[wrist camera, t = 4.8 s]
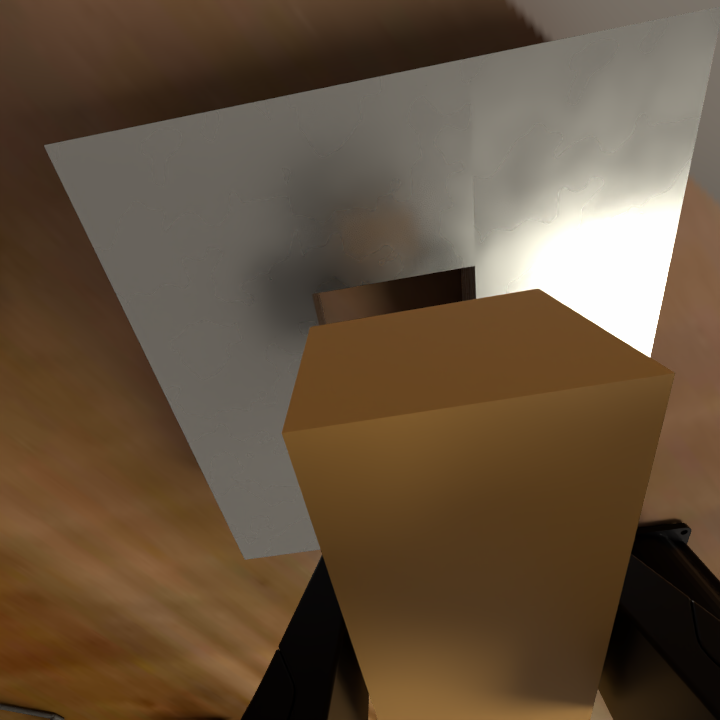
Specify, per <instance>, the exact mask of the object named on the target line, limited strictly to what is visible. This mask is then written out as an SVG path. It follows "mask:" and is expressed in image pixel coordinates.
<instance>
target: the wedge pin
mask: <svg viewBox="0 0 720 720" xmlns="http://www.w3.org/2000/svg"><path fill="white" fill-rule="evenodd" d="M674 376H675V373H674V372H673V371H671V370H669V369H668V368H666V367H665V366H663V365H661V364H660V363H658V362H657V361H655V360H653V359H652V358H650V357H649V356H647V355H645V354H644V353H642V352H640V351H639V350H637V349H636V348H634V347H632V346H631V345H629V344H628V343H626V342H624V341H623V340H621V339H620V338H618V337H616V336H615V335H613V334H611V333H610V332H608V331H607V330H605V329H603V328H602V327H600V326H599V325H597V324H595V323H594V322H592V321H591V320H589V319H587V318H586V317H584V316H582V315H581V314H579V313H578V312H576V311H574V310H573V309H571V308H570V307H568V306H566V305H565V304H563V303H562V302H560V301H558V300H557V299H555V298H553V297H552V296H550V295H549V294H547V293H545V292H544V291H542V290H541V289H539V288H538V289H532V290H526V291H520V292H514V293H508V294H502V295H496V296H490V297H484V298H478V299H473V300H467V301H461V302H455V303H449V304H443V305H437V306H431V307H425V308H419V309H414V310H408V311H402V312H396V313H390V314H384V315H378V316H372V317H366V318H360V319H354V320H349V321H343V322H337V323H331V324H325V325H319V326H313V327H310V329H309V333H308V337H307V340H306V344H305V348H304V352H303V355H302V359H301V363H300V367H299V370H298V374H297V378H296V381H295V385H294V389H293V393H292V396H291V400H290V404H289V408H288V411H287V415H286V419H285V423H284V426H283V430H282V436H283V439H284V442H285V445H286V448H287V451H288V454H289V457H290V460H291V463H292V466H293V469H294V472H295V475H296V478H297V481H298V484H299V487H300V489H301V492H302V495H303V498H304V501H305V504H306V507H307V510H308V513H309V516H310V519H311V522H312V525H313V528H314V531H315V534H316V537H317V540H318V543H319V546H320V549H321V552H322V555H323V558H324V561H325V564H326V567H327V570H328V573H329V576H330V579H331V582H332V585H333V588H334V591H335V594H336V597H337V600H338V603H339V606H340V609H341V612H342V615H343V618H344V621H345V624H346V627H347V630H348V633H349V636H350V639H351V642H352V645H353V648H354V651H355V654H356V657H357V660H358V663H359V666H360V669H361V672H362V675H363V678H364V681H365V684H366V687H367V690H368V693H369V696H370V699H371V702H372V704H373V707H374V710H375V713H376V716H377V719H378V720H590V718H591V714H592V710H593V706H594V702H595V698H596V694H597V689H598V685H599V681H600V677H601V673H602V669H603V665H604V661H605V657H606V653H607V649H608V645H609V641H610V637H611V632H612V628H613V624H614V620H615V616H616V612H617V608H618V604H619V600H620V596H621V592H622V588H623V584H624V580H625V575H626V571H627V567H628V563H629V559H630V555H631V551H632V547H633V543H634V539H635V535H636V531H637V527H638V523H639V518H640V514H641V510H642V506H643V502H644V498H645V494H646V490H647V486H648V482H649V478H650V474H651V470H652V465H653V461H654V457H655V453H656V449H657V445H658V441H659V437H660V433H661V429H662V425H663V421H664V417H665V413H666V408H667V404H668V400H669V396H670V392H671V388H672V384H673V380H674Z"/></svg>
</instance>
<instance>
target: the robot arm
mask: <svg viewBox="0 0 720 720" xmlns="http://www.w3.org/2000/svg"><path fill="white" fill-rule="evenodd" d="M690 534H691V529H690V528H689V527H688V525H687V524H685V523H678V524H670V525H662V526H655V527H647V528H639V529H637V531H636V535H635V539H634V543H633V547H632V551H631V555H630V559H629V563H628V567H627V571H626V575H625V580H624V584H623V588H622V592H621V596H620V600H619V604H618V608H617V612H616V616H615V620H614V624H613V628H612V632H611V637H610V641H609V645H608V649H607V653H606V657H605V661H604V665H603V669H602V673H601V677H600V681H599V685H598V689H599V691H600V693H601V695H602V697H603V699H604V702H605V704H606V706H607V708H608V710H609V712H610V714H611V716H612V718H613V720H720V581H719V580H718V579H717V578H716V576H715V575H714V574H713V573H712V572H711V571H710V570H709V569H708V568H707V566H706V565H705V564H704V563H703V562H702V561H701V560H700V559H699V558H698V556H697V555H696V554H695V553H694V552H693V551H692V550H691V549H690V548H689V546H688V545H687V542H688V539H689V536H690ZM368 704H369V693H368V690H367V687H366V684H365V681H364V678H363V675H362V672H361V669H360V666H359V663H358V660H357V657H356V654H355V651H354V648H353V645H352V642H351V639H350V636H349V633H348V630H347V627H346V624H345V621H344V618H343V615H342V612H341V609H340V606H339V603H338V600H337V597H336V594H335V591H334V588H333V585H332V582H331V579H330V576H329V573H328V570H327V567H326V564H325V561H324V558H323V555H322V556H321V558H320V560H319V562H318V564H317V567H316V569H315V571H314V573H313V575H312V577H311V579H310V581H309V583H308V585H307V588H306V590H305V592H304V594H303V596H302V598H301V600H300V602H299V604H298V606H297V608H296V611H295V613H294V615H293V617H292V619H291V621H290V623H289V625H288V627H287V629H286V631H285V634H284V636H283V638H282V640H281V642H280V644H279V649H278V650H276V652H275V654H274V656H273V658H272V660H271V663H270V665H269V667H268V669H267V671H266V673H265V675H264V677H263V679H262V681H261V683H260V685H259V687H258V689H257V691H256V693H255V695H254V696H253V698H252V700H251V702H250V704H249V705H248V707H247V709H246V711H245V713H244V714H243V716H242V718H241V720H368Z"/></svg>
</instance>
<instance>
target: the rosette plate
mask: <svg viewBox="0 0 720 720" xmlns="http://www.w3.org/2000/svg"><path fill="white" fill-rule="evenodd" d="M719 27H720V7H716V8H711V9H706V10H701V11H697V12H691V13H687V14H682V15H677V16H672V17H667V18H663V19H658V20H652V21H647V22H643V23H638V24H633V25H628V26H623V27H618V28H613V29H609V30H604V31H599V32H594V33H589V34H584V35H579V36H574V37H569V38H565V39H560V40H555V41H550V42H545V43H540V44H535V45H530V46H526V47H521V48H516V49H511V50H506V51H501V52H496V53H491V54H487V55H482V56H477V57H472V58H467V59H462V60H457V61H452V62H448V63H443V64H438V65H433V66H428V67H423V68H418V69H413V70H409V71H404V72H399V73H394V74H389V75H384V76H379V77H374V78H370V79H365V80H360V81H355V82H350V83H345V84H340V85H335V86H331V87H326V88H321V89H316V90H311V91H306V92H301V93H296V94H292V95H287V96H282V97H277V98H272V99H267V100H262V101H257V102H253V103H248V104H243V105H238V106H233V107H228V108H223V109H218V110H214V111H209V112H204V113H199V114H194V115H189V116H184V117H179V118H175V119H170V120H165V121H160V122H155V123H150V124H145V125H140V126H135V127H131V128H126V129H121V130H116V131H111V132H106V133H101V134H96V135H92V136H87V137H82V138H77V139H72V140H67V141H62V142H57V143H53V144H48V145H44V147H45V149H46V151H47V153H48V155H49V157H50V159H51V161H52V163H53V166H54V168H55V170H56V172H57V174H58V176H59V178H60V180H61V182H62V184H63V186H64V188H65V190H66V192H67V194H68V196H69V198H70V201H71V203H72V205H73V207H74V209H75V211H76V213H77V215H78V217H79V219H80V221H81V223H82V225H83V227H84V229H85V231H86V233H87V236H88V238H89V240H90V242H91V244H92V246H93V248H94V250H95V252H96V254H97V256H98V258H99V260H100V262H101V264H102V266H103V268H104V271H105V273H106V275H107V277H108V279H109V281H110V283H111V285H112V287H113V289H114V291H115V293H116V295H117V297H118V299H119V301H120V303H121V306H122V308H123V310H124V312H125V314H126V316H127V318H128V320H129V322H130V324H131V326H132V328H133V330H134V332H135V334H136V336H137V338H138V341H139V343H140V345H141V347H142V349H143V351H144V353H145V355H146V357H147V359H148V361H149V363H150V365H151V367H152V369H153V371H154V373H155V376H156V378H157V380H158V382H159V384H160V386H161V388H162V390H163V392H164V394H165V396H166V398H167V400H168V402H169V404H170V406H171V408H172V411H173V413H174V415H175V417H176V419H177V421H178V423H179V425H180V427H181V429H182V431H183V433H184V435H185V437H186V439H187V441H188V443H189V446H190V448H191V450H192V452H193V454H194V456H195V458H196V460H197V462H198V464H199V466H200V468H201V470H202V472H203V474H204V476H205V478H206V481H207V483H208V485H209V487H210V489H211V491H212V493H213V495H214V497H215V499H216V501H217V503H218V505H219V507H220V509H221V511H222V513H223V516H224V518H225V520H226V522H227V524H228V526H229V528H230V530H231V532H232V534H233V536H234V538H235V540H236V542H237V544H238V546H239V548H240V551H241V553H242V555H243V557H244V559H253V558H260V557H268V556H275V555H283V554H290V553H297V552H305V551H312V550H320V546H319V543H318V540H317V537H316V534H315V531H314V528H313V525H312V522H311V519H310V516H309V513H308V510H307V507H306V504H305V501H304V498H303V495H302V492H301V489H300V487H299V484H298V481H297V478H296V475H295V472H294V469H293V466H292V463H291V460H290V457H289V454H288V451H287V448H286V445H285V442H284V439H283V436H282V430H283V426H284V423H285V419H286V415H287V411H288V408H289V404H290V400H291V396H292V393H293V389H294V385H295V381H296V378H297V374H298V370H299V367H300V363H301V359H302V355H303V352H304V348H305V344H306V340H307V337H308V333H309V329H310V327H313V326H319V325H325V324H326V320H325V316H324V312H323V307H322V303H321V298H320V294H319V293H321V292H327V291H332V290H338V289H344V288H350V287H356V286H361V285H367V284H373V283H379V282H384V281H390V280H396V279H402V278H407V277H413V276H419V275H425V274H430V273H436V272H442V271H448V270H454V269H459V268H461V277H462V299H463V301H467V300H473V299H478V298H484V297H490V296H496V295H502V294H508V293H514V292H520V291H526V290H532V289H538V288H539V289H541V290H542V291H544V292H545V293H547V294H549V295H550V296H552V297H553V298H555V299H557V300H558V301H560V302H562V303H563V304H565V305H566V306H568V307H570V308H571V309H573V310H574V311H576V312H578V313H579V314H581V315H582V316H584V317H586V318H587V319H589V320H591V321H592V322H594V323H595V324H597V325H599V326H600V327H602V328H603V329H605V330H607V331H608V332H610V333H611V334H613V335H615V336H616V337H618V338H620V339H621V340H623V341H624V342H626V343H628V344H629V345H631V346H632V347H634V348H636V349H637V350H639V351H640V352H642V353H644V354H645V355H647V356H649V357H650V355H651V350H652V345H653V341H654V336H655V331H656V326H657V322H658V317H659V312H660V307H661V302H662V298H663V293H664V288H665V283H666V279H667V274H668V269H669V264H670V260H671V255H672V250H673V245H674V241H675V236H676V231H677V226H678V222H679V217H680V212H681V207H682V203H683V198H684V193H685V188H686V184H687V179H688V174H689V169H690V165H691V160H692V155H693V150H694V145H695V141H696V136H697V131H698V126H699V122H700V117H701V112H702V106H703V103H704V98H705V93H706V88H707V84H708V79H709V74H710V69H711V65H712V60H713V55H714V50H715V45H716V41H717V36H718V31H719Z"/></svg>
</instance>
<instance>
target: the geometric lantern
mask: <svg viewBox="0 0 720 720" xmlns="http://www.w3.org/2000/svg"><path fill="white" fill-rule="evenodd" d="M0 709H2V710H7V711H13V712H18V713H23V714H29V715H34V716H39V717H45V718H50V720H64V718H63V717H61V716H58V715H56V714H51V713H46V712H41V711H35V710H30V709H25V708H20V707H14V706H9V705H4V704H0Z"/></svg>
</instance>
